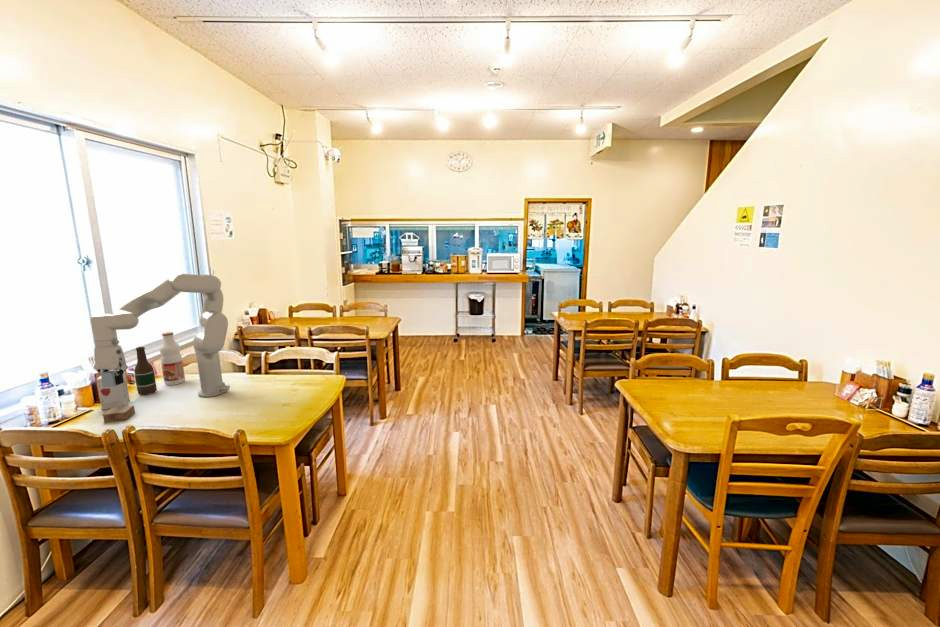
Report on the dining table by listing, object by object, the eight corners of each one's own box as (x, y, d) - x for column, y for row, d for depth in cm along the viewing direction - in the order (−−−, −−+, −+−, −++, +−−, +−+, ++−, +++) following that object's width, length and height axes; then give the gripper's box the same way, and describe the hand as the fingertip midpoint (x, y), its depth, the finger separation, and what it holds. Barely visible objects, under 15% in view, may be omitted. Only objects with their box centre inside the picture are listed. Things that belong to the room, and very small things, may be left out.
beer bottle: (160, 390, 218) (153, 345, 214) (148, 395, 210) (140, 349, 206) (147, 389, 219) (139, 345, 214) (134, 395, 211) (126, 349, 207)
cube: (124, 382, 184) (122, 369, 183) (114, 386, 179) (111, 373, 178) (113, 382, 184) (111, 369, 183) (103, 386, 179) (100, 373, 178)
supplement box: (101, 410, 193) (95, 379, 190) (106, 403, 201) (101, 373, 198) (125, 406, 197) (120, 376, 194) (130, 400, 205) (125, 370, 202)
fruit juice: (188, 381, 230) (180, 332, 225) (167, 386, 223) (159, 335, 218) (182, 378, 236) (174, 330, 231) (162, 383, 228) (154, 333, 223)
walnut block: (135, 413, 189) (133, 405, 189) (126, 420, 182) (124, 412, 181) (114, 415, 187) (112, 407, 186) (104, 423, 180) (102, 414, 179)
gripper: (132, 340, 181) (139, 380, 185) (95, 340, 182) (103, 380, 186) (117, 345, 174) (124, 386, 177) (79, 345, 175) (86, 386, 178)
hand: (113, 383), depth 181 cm, fingers closed on cube, 5 cm apart
